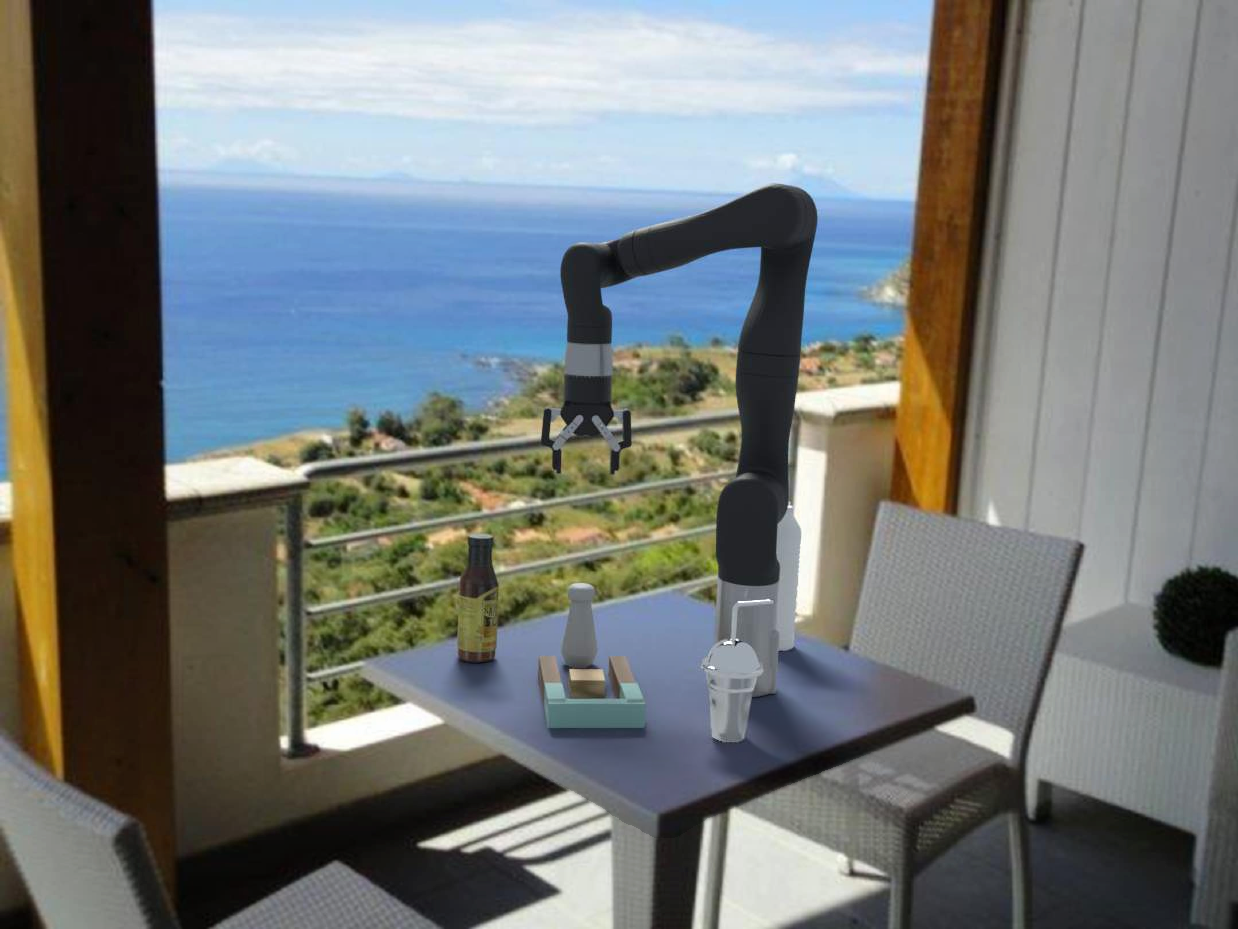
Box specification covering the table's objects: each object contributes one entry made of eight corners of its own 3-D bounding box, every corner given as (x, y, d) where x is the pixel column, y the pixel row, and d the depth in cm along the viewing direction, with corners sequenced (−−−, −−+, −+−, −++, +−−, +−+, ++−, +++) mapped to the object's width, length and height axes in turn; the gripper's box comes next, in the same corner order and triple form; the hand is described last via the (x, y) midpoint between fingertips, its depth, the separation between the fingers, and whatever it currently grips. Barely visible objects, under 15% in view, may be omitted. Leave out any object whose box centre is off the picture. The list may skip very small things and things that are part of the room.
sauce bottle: (489, 666, 204) (493, 542, 201) (451, 662, 205) (454, 538, 202) (501, 653, 211) (505, 533, 207) (464, 649, 212) (467, 530, 208)
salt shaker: (603, 663, 208) (607, 584, 206) (583, 672, 203) (587, 591, 201) (573, 656, 211) (576, 578, 209) (553, 665, 206) (556, 585, 204)
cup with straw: (720, 721, 185) (728, 584, 182) (774, 738, 179) (783, 597, 176) (684, 736, 179) (692, 594, 175) (739, 755, 173) (748, 608, 170)
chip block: (601, 688, 197) (602, 669, 197) (604, 700, 192) (605, 680, 192) (568, 688, 197) (569, 669, 196) (570, 699, 192) (571, 680, 191)
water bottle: (754, 639, 225) (763, 496, 220) (792, 641, 224) (802, 498, 220) (756, 654, 216) (766, 506, 212) (796, 657, 216) (806, 508, 211)
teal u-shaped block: (636, 706, 189) (637, 683, 189) (644, 728, 181) (645, 703, 180) (543, 706, 188) (544, 683, 187) (547, 728, 179) (548, 703, 179)
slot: (624, 674, 203) (625, 656, 203) (636, 706, 189) (637, 686, 189) (538, 674, 201) (538, 655, 201) (543, 706, 188) (544, 686, 187)
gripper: (631, 370, 209) (627, 470, 212) (542, 368, 208) (539, 468, 211) (635, 375, 202) (631, 478, 205) (543, 372, 201) (540, 476, 203)
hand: (585, 473), depth 208 cm, fingers open, 8 cm apart
